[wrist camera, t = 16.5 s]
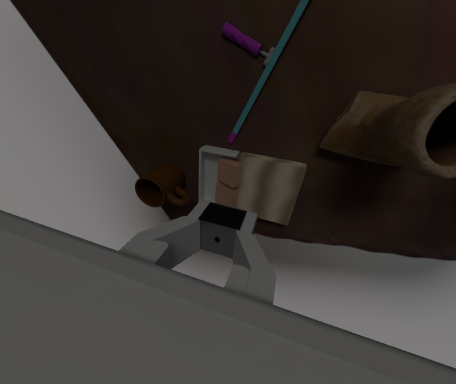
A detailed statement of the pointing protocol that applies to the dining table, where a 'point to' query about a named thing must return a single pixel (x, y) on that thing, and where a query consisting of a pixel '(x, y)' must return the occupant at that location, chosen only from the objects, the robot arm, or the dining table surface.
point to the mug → (162, 186)
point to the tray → (211, 169)
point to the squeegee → (270, 57)
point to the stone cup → (400, 130)
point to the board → (269, 186)
